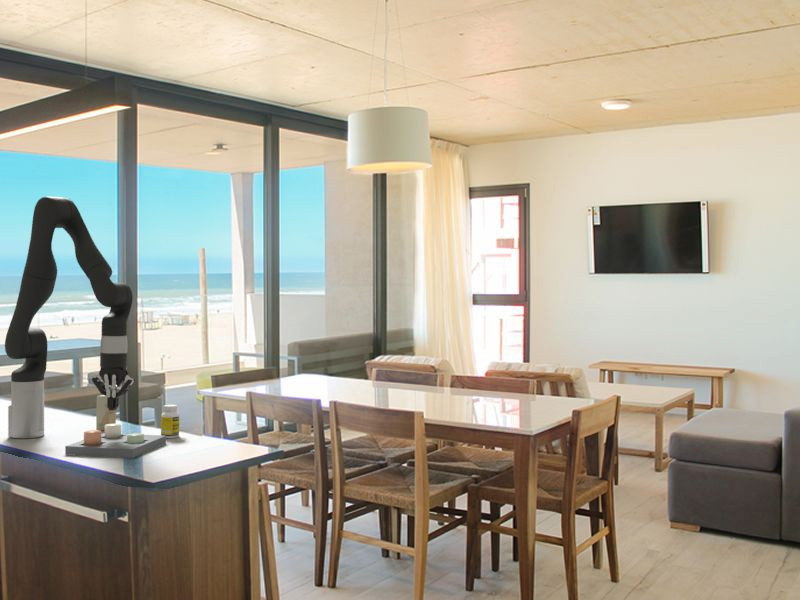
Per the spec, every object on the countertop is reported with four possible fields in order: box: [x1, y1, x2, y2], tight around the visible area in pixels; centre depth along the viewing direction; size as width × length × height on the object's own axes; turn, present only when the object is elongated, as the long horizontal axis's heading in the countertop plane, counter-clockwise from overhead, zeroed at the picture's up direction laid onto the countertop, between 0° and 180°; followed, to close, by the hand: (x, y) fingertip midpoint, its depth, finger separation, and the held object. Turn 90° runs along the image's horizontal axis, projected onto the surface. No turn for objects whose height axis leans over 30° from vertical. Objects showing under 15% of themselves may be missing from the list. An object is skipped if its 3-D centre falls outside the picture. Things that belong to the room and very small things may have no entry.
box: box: [95, 394, 117, 431], centre depth 261 cm, size 5×4×11 cm
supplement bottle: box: [160, 404, 180, 439], centre depth 249 cm, size 5×5×10 cm
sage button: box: [127, 432, 145, 444], centre depth 229 cm, size 5×5×4 cm
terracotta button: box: [83, 429, 102, 446], centre depth 226 cm, size 5×5×4 cm
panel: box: [64, 432, 167, 459], centre depth 230 cm, size 20×20×2 cm
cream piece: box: [104, 423, 122, 439], centre depth 236 cm, size 5×5×4 cm
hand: (112, 409), depth 236 cm, fingers closed
